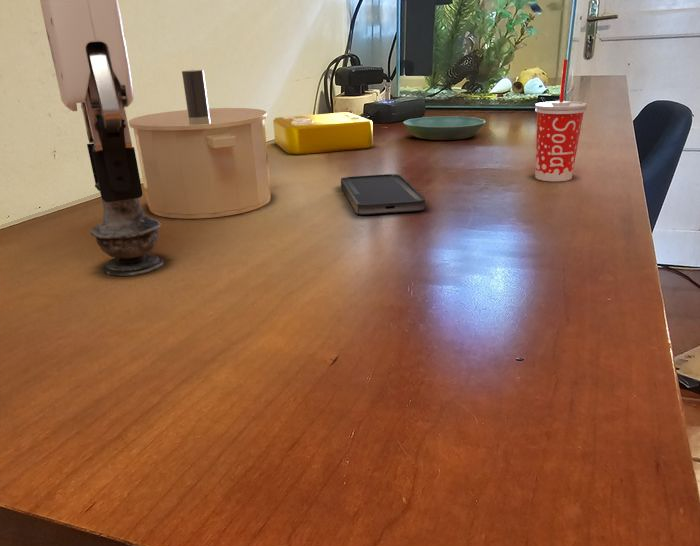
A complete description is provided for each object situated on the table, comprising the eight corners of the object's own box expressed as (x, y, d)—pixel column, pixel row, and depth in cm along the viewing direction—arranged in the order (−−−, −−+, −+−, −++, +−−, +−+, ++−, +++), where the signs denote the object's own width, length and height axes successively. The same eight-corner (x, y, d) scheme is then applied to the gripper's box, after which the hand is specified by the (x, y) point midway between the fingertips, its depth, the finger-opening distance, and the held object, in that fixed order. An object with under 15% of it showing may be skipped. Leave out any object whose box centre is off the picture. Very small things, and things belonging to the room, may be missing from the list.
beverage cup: (524, 181, 82) (534, 61, 75) (533, 171, 87) (544, 58, 80) (574, 183, 79) (589, 60, 73) (581, 173, 84) (595, 57, 78)
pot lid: (143, 141, 65) (132, 78, 62) (121, 125, 77) (111, 72, 75) (287, 126, 71) (282, 68, 68) (244, 113, 83) (239, 64, 81)
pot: (167, 231, 67) (151, 137, 63) (136, 194, 83) (121, 118, 79) (296, 211, 73) (289, 123, 68) (243, 180, 89) (235, 107, 85)
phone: (398, 173, 83) (427, 200, 70) (398, 182, 84) (427, 210, 70) (338, 177, 82) (356, 205, 69) (339, 186, 83) (356, 215, 69)
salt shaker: (88, 267, 58) (55, 127, 52) (147, 251, 61) (122, 119, 56) (117, 282, 54) (86, 133, 48) (179, 264, 57) (156, 124, 52)
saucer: (478, 143, 108) (479, 127, 107) (394, 142, 113) (394, 126, 112) (489, 130, 121) (490, 115, 120) (413, 129, 125) (413, 115, 124)
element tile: (376, 148, 108) (375, 118, 106) (289, 156, 105) (286, 125, 102) (351, 136, 121) (350, 109, 119) (273, 142, 117) (270, 115, 115)
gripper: (12, -47, 52) (66, 182, 60) (12, -77, 38) (81, 223, 47) (109, -46, 55) (147, 172, 63) (140, -75, 41) (184, 208, 49)
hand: (119, 191), depth 55 cm, fingers closed on salt shaker, 3 cm apart
